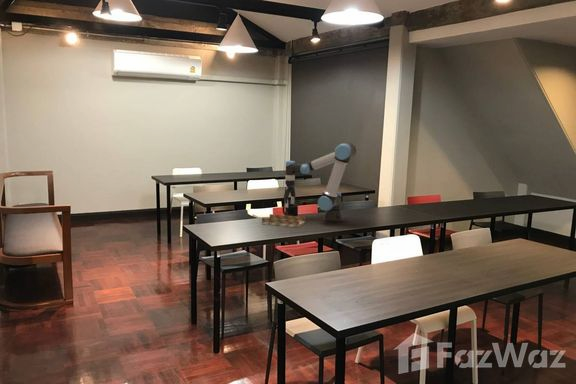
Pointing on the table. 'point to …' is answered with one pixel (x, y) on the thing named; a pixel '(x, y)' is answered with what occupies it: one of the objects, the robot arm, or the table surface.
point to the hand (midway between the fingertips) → (289, 206)
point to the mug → (291, 210)
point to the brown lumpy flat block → (284, 220)
